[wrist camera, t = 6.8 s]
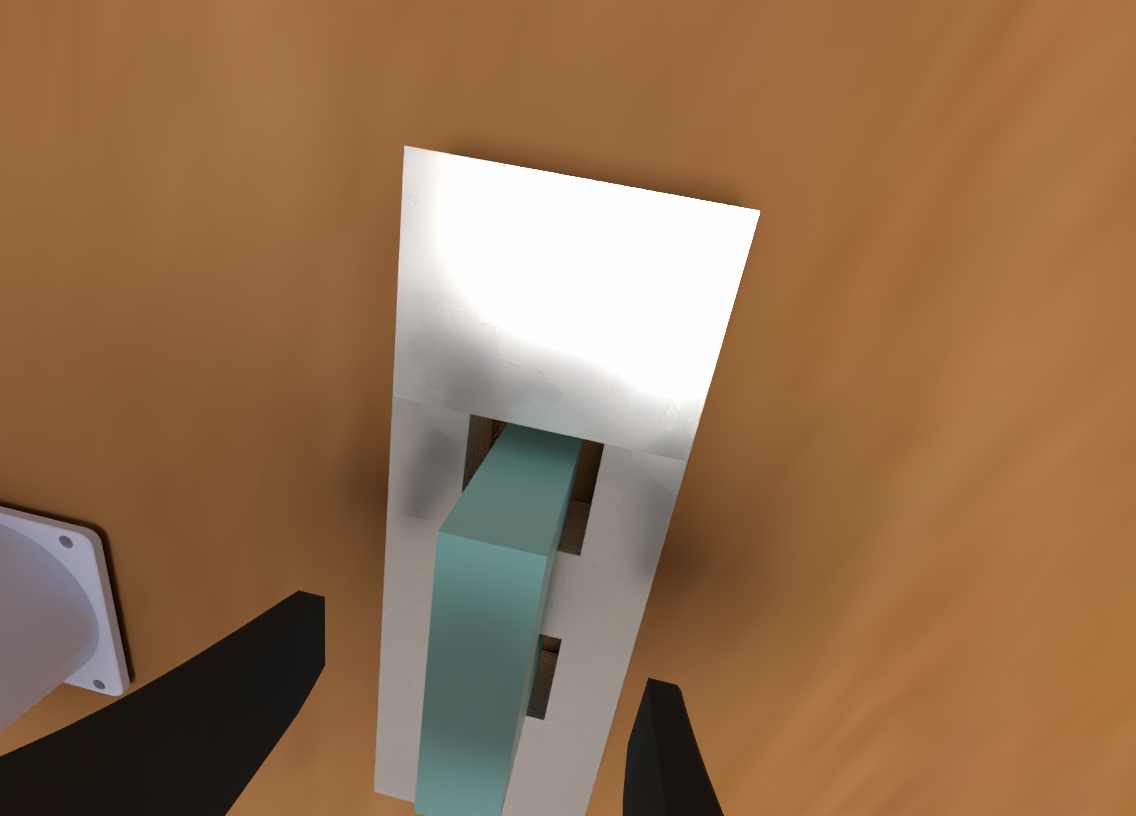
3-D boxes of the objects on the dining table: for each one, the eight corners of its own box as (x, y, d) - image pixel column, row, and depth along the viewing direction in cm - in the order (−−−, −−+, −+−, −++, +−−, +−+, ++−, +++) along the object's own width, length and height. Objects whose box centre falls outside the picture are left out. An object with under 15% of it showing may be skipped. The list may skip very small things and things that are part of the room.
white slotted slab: (405, 725, 21) (374, 791, 18) (449, 154, 13) (404, 145, 11) (584, 772, 20) (575, 847, 18) (740, 208, 12) (759, 211, 10)
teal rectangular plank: (487, 625, 18) (413, 812, 13) (516, 409, 15) (437, 531, 10) (544, 639, 18) (496, 834, 12) (586, 423, 15) (547, 556, 9)
